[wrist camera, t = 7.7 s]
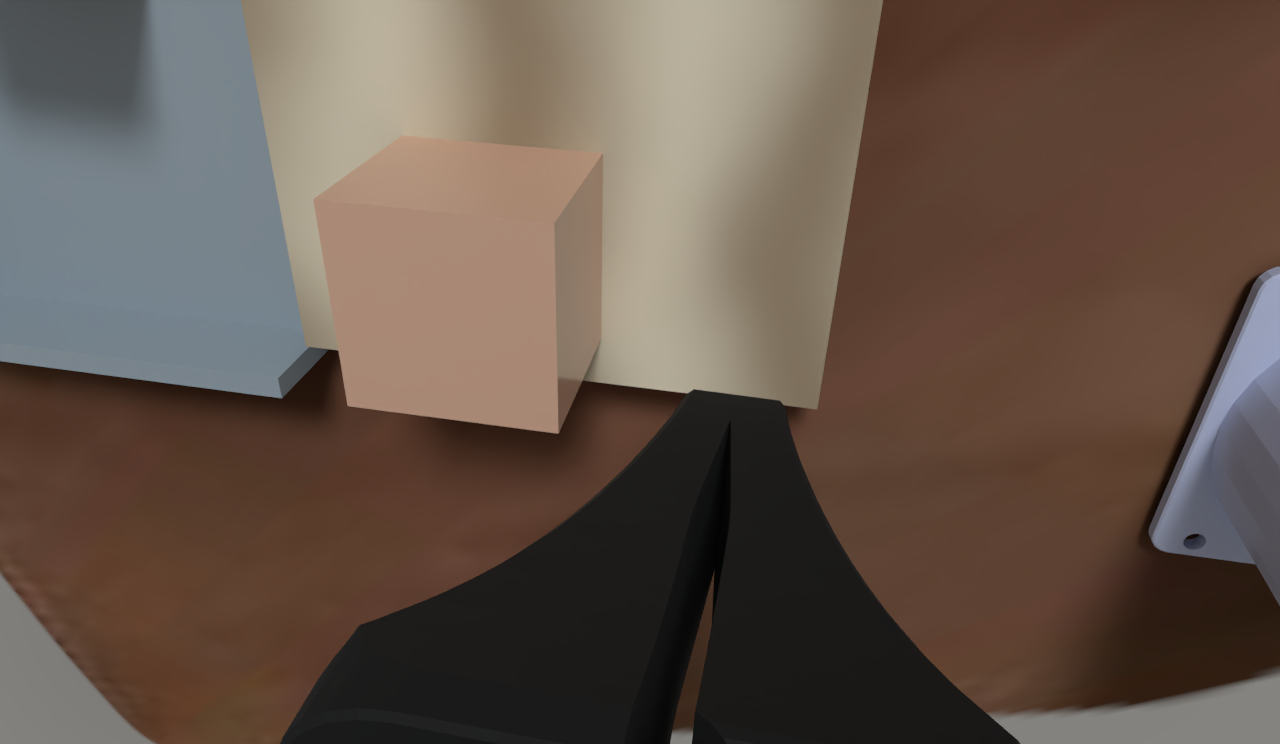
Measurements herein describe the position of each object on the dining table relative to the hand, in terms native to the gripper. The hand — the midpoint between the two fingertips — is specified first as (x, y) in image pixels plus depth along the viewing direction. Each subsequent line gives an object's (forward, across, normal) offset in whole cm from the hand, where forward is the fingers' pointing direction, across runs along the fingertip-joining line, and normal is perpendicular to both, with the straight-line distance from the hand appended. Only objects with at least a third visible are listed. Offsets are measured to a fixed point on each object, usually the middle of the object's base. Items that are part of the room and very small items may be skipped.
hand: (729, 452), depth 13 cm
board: (+10, +5, -3) cm, 11 cm away
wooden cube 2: (+8, +6, +1) cm, 10 cm away
